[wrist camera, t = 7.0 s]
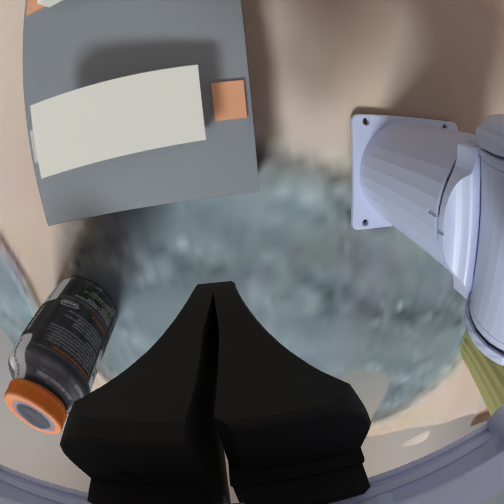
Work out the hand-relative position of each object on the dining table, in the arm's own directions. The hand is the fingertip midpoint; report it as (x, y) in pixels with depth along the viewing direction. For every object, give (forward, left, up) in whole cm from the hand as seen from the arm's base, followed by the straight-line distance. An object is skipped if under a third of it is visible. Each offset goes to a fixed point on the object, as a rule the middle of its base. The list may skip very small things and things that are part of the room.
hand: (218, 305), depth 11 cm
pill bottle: (+12, +6, -10) cm, 16 cm away
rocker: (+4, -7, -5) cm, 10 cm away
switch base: (+4, -12, -10) cm, 16 cm away
